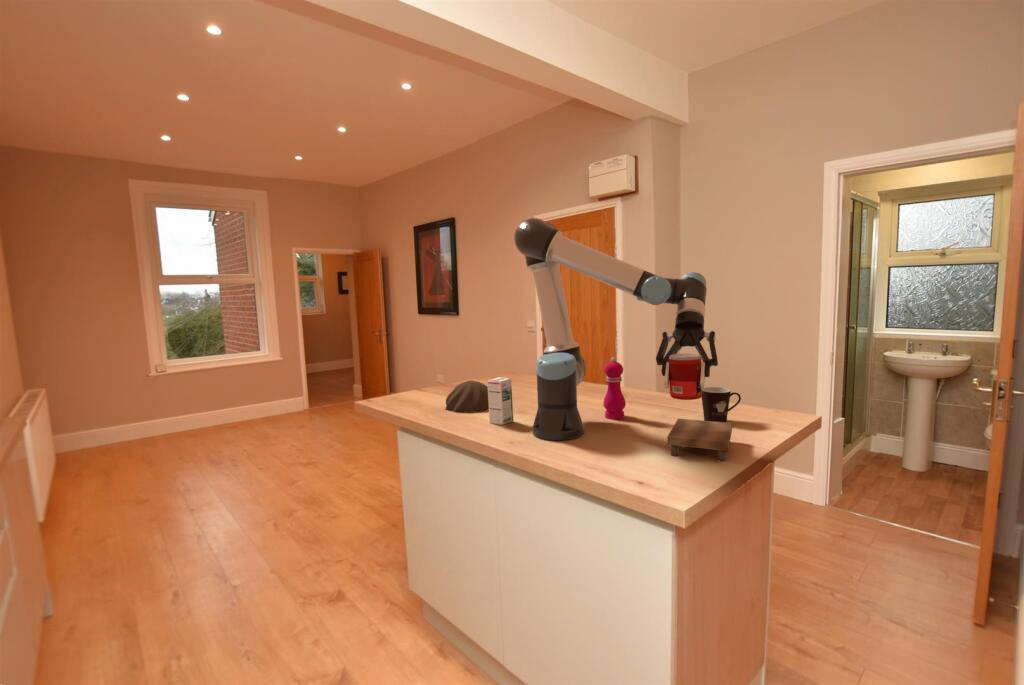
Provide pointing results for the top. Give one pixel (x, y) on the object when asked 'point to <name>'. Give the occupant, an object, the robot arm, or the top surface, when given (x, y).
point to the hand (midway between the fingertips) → (684, 385)
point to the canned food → (685, 376)
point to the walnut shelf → (700, 436)
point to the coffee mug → (717, 403)
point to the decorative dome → (468, 397)
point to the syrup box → (500, 400)
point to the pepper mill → (614, 391)
